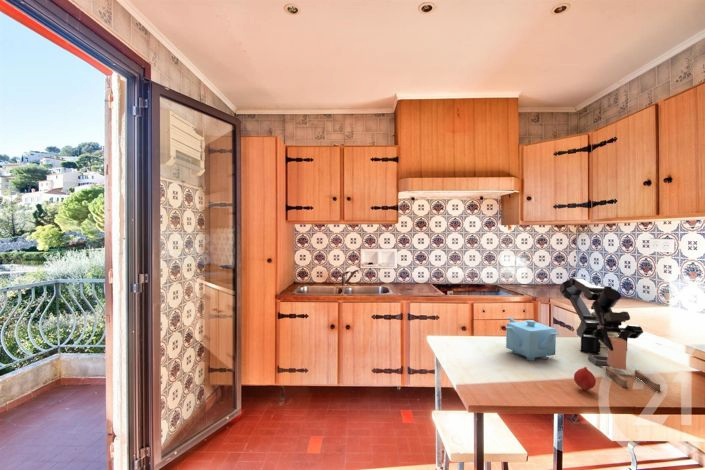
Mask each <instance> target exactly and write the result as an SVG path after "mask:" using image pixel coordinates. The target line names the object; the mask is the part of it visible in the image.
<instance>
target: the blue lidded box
mask: <svg viewBox="0 0 705 470" xmlns="http://www.w3.org/2000/svg"><path fill="white" fill-rule="evenodd" d="M507 319H508V320H509V322H507V323H506V326H505V329H506V337H505V339H506V340H505V341H506V342H505V343H506V344H505V348H506V349H509V350H511V351H512V354H515V355H521V356H523V357H526V360H528V361H531V362H535V358H540V359H545V360H548V359H549V358H548V356H554V355H556V346H557V345H556V343H557V341H556V340H557V335H559V333H558V332H557V329H556V328H555V327H553V326H552V327H551V326H549V325H546V324H543V323H540V322H536V321H535V320H533V319H526V320H524V321H516V320H515V319H514V318H512V317H510V316H507Z"/></svg>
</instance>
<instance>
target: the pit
mask: <svg viewBox="0 0 705 470" xmlns="http://www.w3.org/2000/svg"><path fill="white" fill-rule="evenodd" d="M587 355H588V357H587V359H588V361H590V363H592V364H593V365H594V366H598V367H599V366H600V367H601V366H608V367H611V366H609V365H608V364H607V357H608V355H596V354H587Z"/></svg>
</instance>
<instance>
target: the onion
mask: <svg viewBox="0 0 705 470" xmlns="http://www.w3.org/2000/svg"><path fill="white" fill-rule="evenodd" d="M573 381H574V382H575V384H576V385H577V386H578V387H579V388H580V389H581V390H583V391H584V392H586V391H589V390H591V389H593V388H594V387H595V386H596V383H597V379H596V377H595V375H594V374H593V372H591V371H590V370H589V369H588V367H587V366H583V367H581V368H580V369H577V370H576V372H574V374H573Z"/></svg>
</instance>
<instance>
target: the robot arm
mask: <svg viewBox="0 0 705 470" xmlns="http://www.w3.org/2000/svg"><path fill="white" fill-rule="evenodd" d="M559 292H560V293H561V295H562V297H564V298H565V299H567V300H569V302H570V304H571V305H572V307H573V308H574V311H575V312H576V315H577V316H578V318H579V320H580V322H579V326H578V327H577V329H575V330H576V335H577V337H580V349H579V351H580V352H583V353H587V354H591V355H598V356H600V353H601V346H600V345H601V342H603V343H604V344H605V345H606V346H607V347H608V348H609V349H610V350H611V351H613V346H612V344H611V341H610V339H609V337H608V332H614V333H618V337H617V338H621V339H623V340H625V341H627V342H628V339H638V338H639V337H640V336H641V335H642V334H643V333H644V330H643V328H642V326H640V325H636V324H627V325H626V326H625V327H620V326H622V324H623V323H626V321H630V320H631V316H630V313H629V312H628V311H620V312H616V311H615V312H613V309H612V308H613V307H615V306H616V305H617V303H619V301H620V299H621V298H622V294H621V292H620V291H618V290H617V289H615V288H613V287H612V286H611V285H610V286H609V285H605V286H604V287H603V286H598V285H594V284H592V283H590V282H588V281H586V279H584V278H583V277H576V276H575V277H574V276H572V277H570V278H569V279H568V280H565V281H564V282H562V283H561V285H560V286H559ZM582 293H583V297H584V298H585V299H586V300H588V301H593V302H592V303H591V306H590V310H593V312H595V314H596V316H592V315H591V313H592V312H591V311H590V310H589V308H588V306H587V305H586V302H585V301H584V299H583V298H582ZM599 340H600V341H601V342H599ZM608 348H607V349H608ZM627 351H628V348H627V349H626V352H627Z"/></svg>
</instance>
